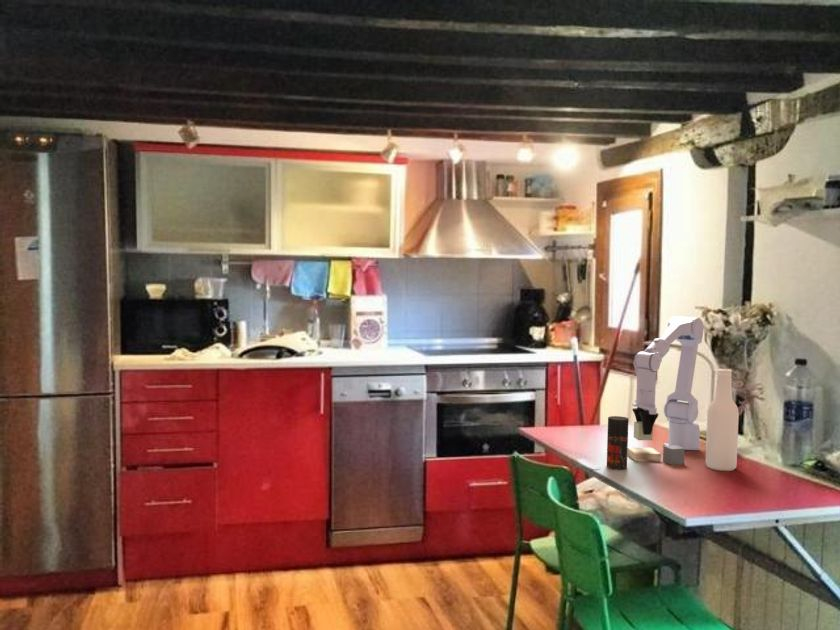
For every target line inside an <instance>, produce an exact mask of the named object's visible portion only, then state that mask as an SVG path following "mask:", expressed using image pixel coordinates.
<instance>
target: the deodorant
mask: <svg viewBox="0 0 840 630" xmlns="http://www.w3.org/2000/svg"><path fill="white" fill-rule="evenodd" d="M606 444H607V445H606V468H607V467H608V468H607V469H609V470H610V469H611V470H615V471H623V470H626V469H628V455H627V450H628V448H629V447H628V446H629V445H628V444H629V417H625V416H618V415H611V416H608V417H607V440H606Z"/></svg>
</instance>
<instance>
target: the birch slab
mask: <svg viewBox="0 0 840 630" xmlns="http://www.w3.org/2000/svg"><path fill="white" fill-rule="evenodd" d="M627 457H629V458H630V459H632V460H633V461H634V462H662V461H661V460H662V458H661V457H662V454H661V452H659V451H658V450H657V449H654V448H653V447H628V450H627Z"/></svg>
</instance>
